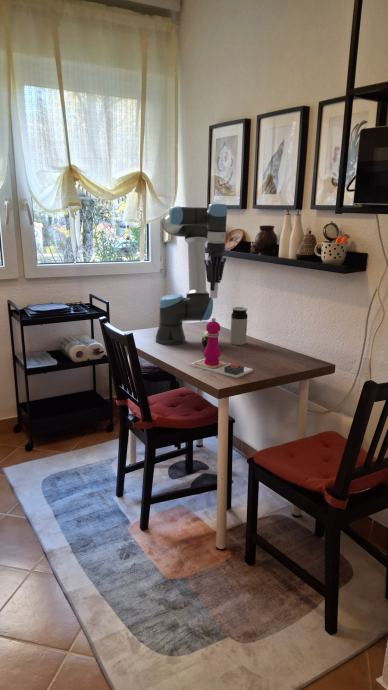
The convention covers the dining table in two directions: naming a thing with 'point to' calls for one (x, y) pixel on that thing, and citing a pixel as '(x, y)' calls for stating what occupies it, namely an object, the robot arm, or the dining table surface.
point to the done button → (234, 365)
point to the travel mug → (238, 326)
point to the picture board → (222, 368)
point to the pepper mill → (212, 343)
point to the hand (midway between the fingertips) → (213, 297)
